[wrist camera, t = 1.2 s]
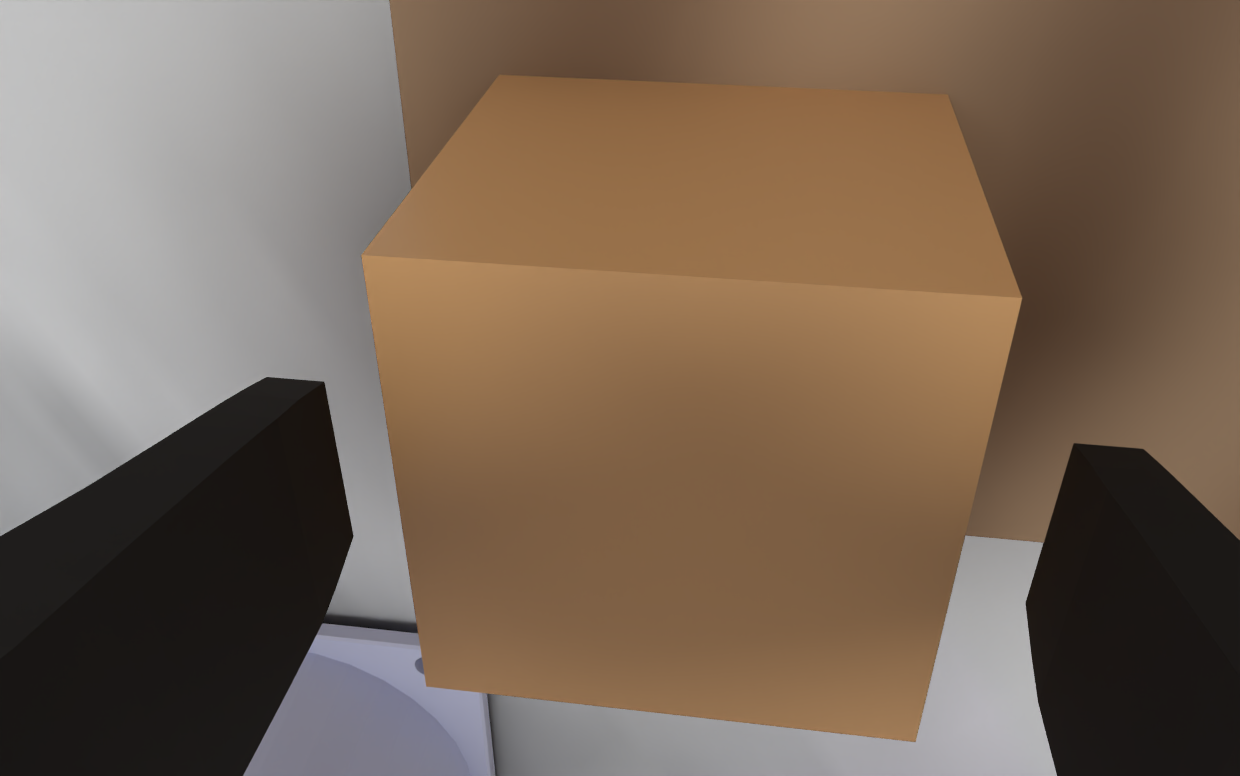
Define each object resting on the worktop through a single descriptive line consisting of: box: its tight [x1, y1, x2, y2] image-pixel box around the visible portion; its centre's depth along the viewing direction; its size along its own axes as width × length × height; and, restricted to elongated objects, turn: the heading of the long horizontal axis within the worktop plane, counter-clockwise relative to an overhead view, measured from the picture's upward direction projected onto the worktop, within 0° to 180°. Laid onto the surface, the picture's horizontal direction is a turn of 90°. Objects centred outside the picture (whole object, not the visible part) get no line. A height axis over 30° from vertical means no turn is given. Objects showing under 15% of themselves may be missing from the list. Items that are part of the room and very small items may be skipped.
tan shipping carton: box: [361, 75, 1022, 742], centre depth 12 cm, size 5×5×5 cm
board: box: [389, 0, 1240, 542], centre depth 13 cm, size 16×14×1 cm
